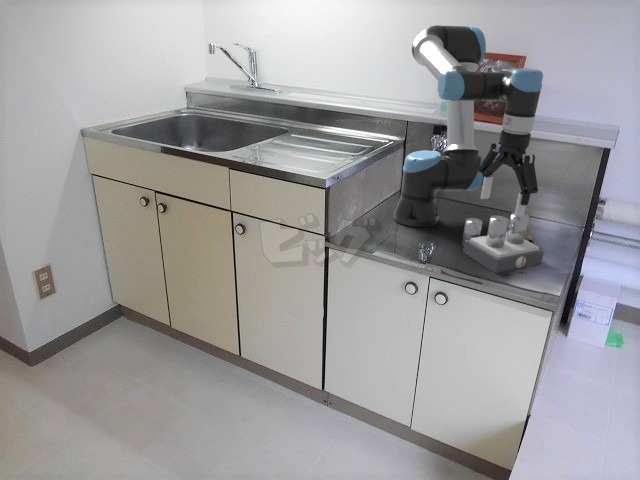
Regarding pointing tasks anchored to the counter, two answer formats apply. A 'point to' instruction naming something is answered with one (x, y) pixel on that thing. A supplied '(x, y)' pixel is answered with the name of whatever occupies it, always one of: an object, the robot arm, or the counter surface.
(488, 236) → the cylinder
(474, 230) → the cylinder
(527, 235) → the filled bread boat
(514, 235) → the cylinder
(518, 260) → the scale
